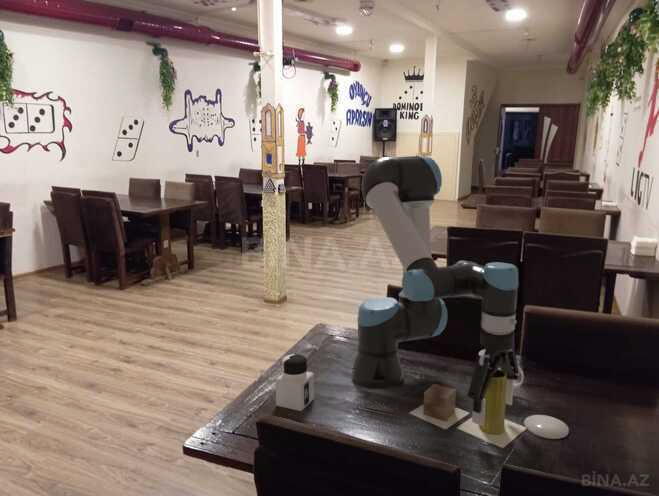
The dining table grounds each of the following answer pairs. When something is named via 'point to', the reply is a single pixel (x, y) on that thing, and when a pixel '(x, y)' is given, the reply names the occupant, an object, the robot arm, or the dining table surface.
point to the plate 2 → (497, 439)
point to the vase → (495, 404)
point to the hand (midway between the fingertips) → (492, 413)
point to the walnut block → (439, 402)
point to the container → (294, 383)
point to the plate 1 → (443, 424)
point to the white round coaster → (546, 426)
